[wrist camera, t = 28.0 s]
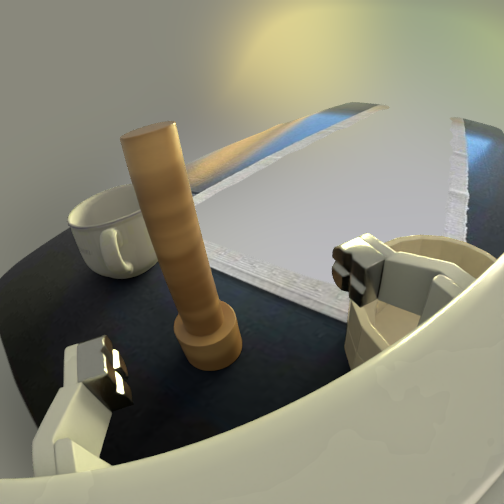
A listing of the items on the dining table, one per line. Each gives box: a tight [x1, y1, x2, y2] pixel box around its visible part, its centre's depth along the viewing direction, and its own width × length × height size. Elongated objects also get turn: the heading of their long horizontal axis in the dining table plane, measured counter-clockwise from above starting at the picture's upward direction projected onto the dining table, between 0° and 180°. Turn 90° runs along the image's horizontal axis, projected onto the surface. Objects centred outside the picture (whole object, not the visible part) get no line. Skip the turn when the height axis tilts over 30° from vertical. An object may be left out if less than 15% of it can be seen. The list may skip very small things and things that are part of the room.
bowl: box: [344, 235, 497, 371], centre depth 17 cm, size 13×13×6 cm
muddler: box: [120, 121, 242, 371], centre depth 17 cm, size 4×4×16 cm
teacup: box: [67, 184, 158, 279], centre depth 30 cm, size 14×11×8 cm
